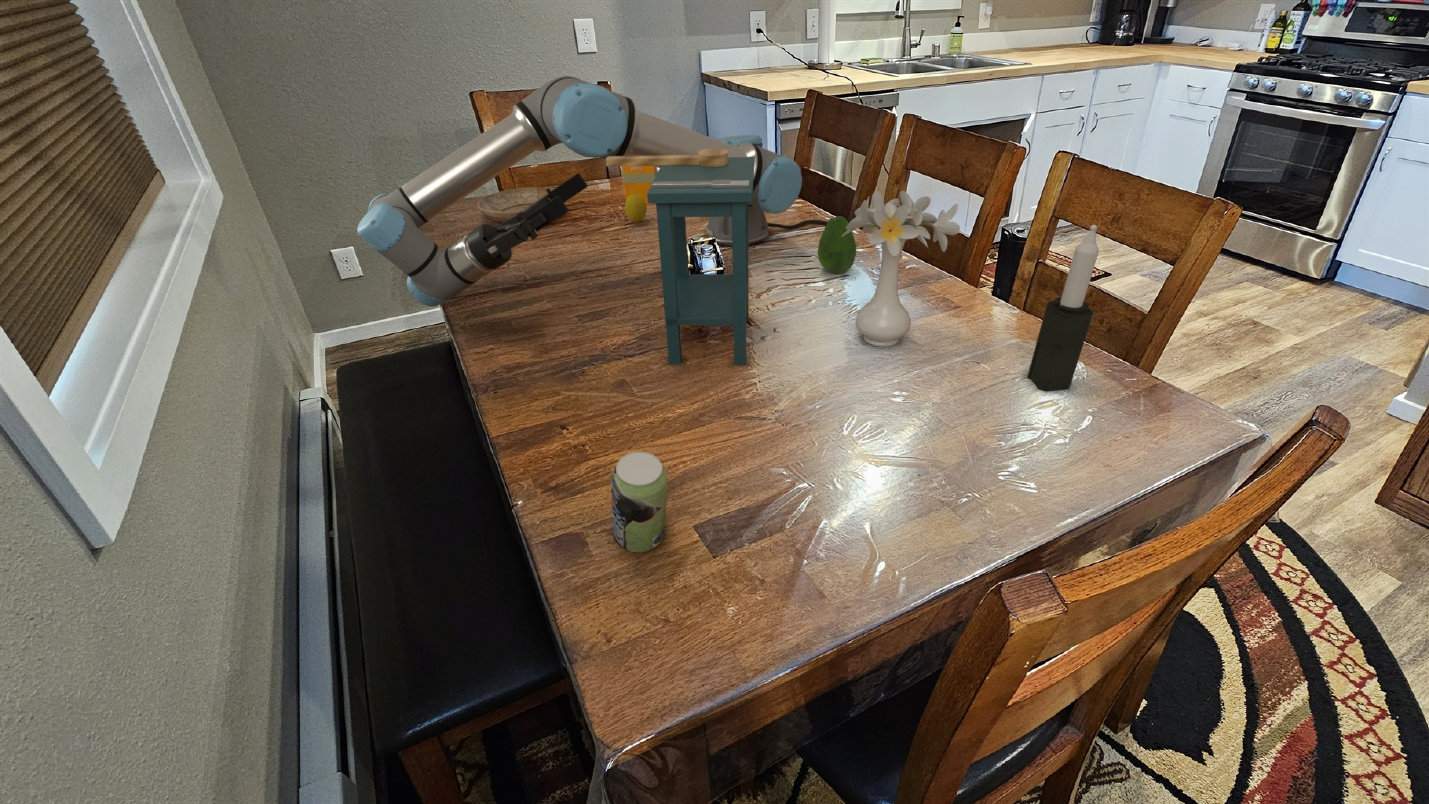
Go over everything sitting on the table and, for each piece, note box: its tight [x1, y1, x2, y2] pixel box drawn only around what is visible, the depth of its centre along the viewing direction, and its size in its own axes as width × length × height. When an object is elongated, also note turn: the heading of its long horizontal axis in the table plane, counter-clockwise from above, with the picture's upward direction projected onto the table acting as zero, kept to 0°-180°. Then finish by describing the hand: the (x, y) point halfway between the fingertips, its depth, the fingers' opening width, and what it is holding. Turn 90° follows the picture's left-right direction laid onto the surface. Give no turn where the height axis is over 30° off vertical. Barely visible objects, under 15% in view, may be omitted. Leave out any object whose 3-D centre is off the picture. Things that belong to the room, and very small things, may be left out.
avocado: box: [817, 215, 857, 274], centre depth 138 cm, size 8×8×12 cm
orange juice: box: [621, 166, 658, 205], centre depth 183 cm, size 8×9×20 cm
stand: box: [647, 157, 754, 366], centre depth 110 cm, size 15×20×29 cm
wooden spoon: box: [605, 148, 728, 167], centre depth 107 cm, size 20×5×2 cm, turn 86°
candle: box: [1027, 224, 1100, 392], centre depth 96 cm, size 5×5×25 cm
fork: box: [653, 180, 749, 189], centre depth 96 cm, size 14×2×1 cm, turn 86°
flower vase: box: [841, 190, 961, 348], centre depth 109 cm, size 13×18×25 cm
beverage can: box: [610, 451, 668, 553], centre depth 74 cm, size 6×7×12 cm
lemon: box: [624, 193, 647, 225], centre depth 169 cm, size 6×6×8 cm
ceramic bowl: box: [477, 186, 566, 223], centre depth 178 cm, size 23×24×5 cm
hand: (573, 191), depth 111 cm, fingers open, 13 cm apart
